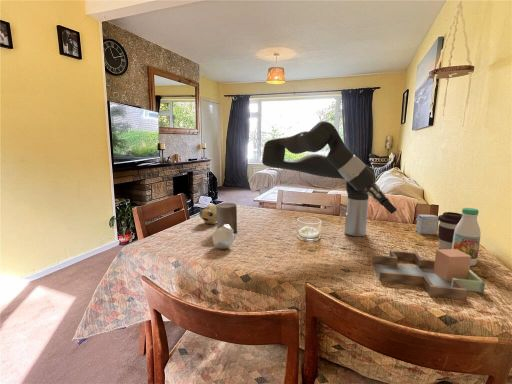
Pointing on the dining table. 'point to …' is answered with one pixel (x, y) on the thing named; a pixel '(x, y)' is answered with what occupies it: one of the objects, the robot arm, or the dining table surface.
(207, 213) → the toy pig
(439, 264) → the terracotta block
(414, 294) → the dining table surface
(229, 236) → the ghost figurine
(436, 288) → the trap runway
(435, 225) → the medicine box
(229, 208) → the pillar candle
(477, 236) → the milk bottle
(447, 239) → the coffee cup
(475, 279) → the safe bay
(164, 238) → the dining table surface
